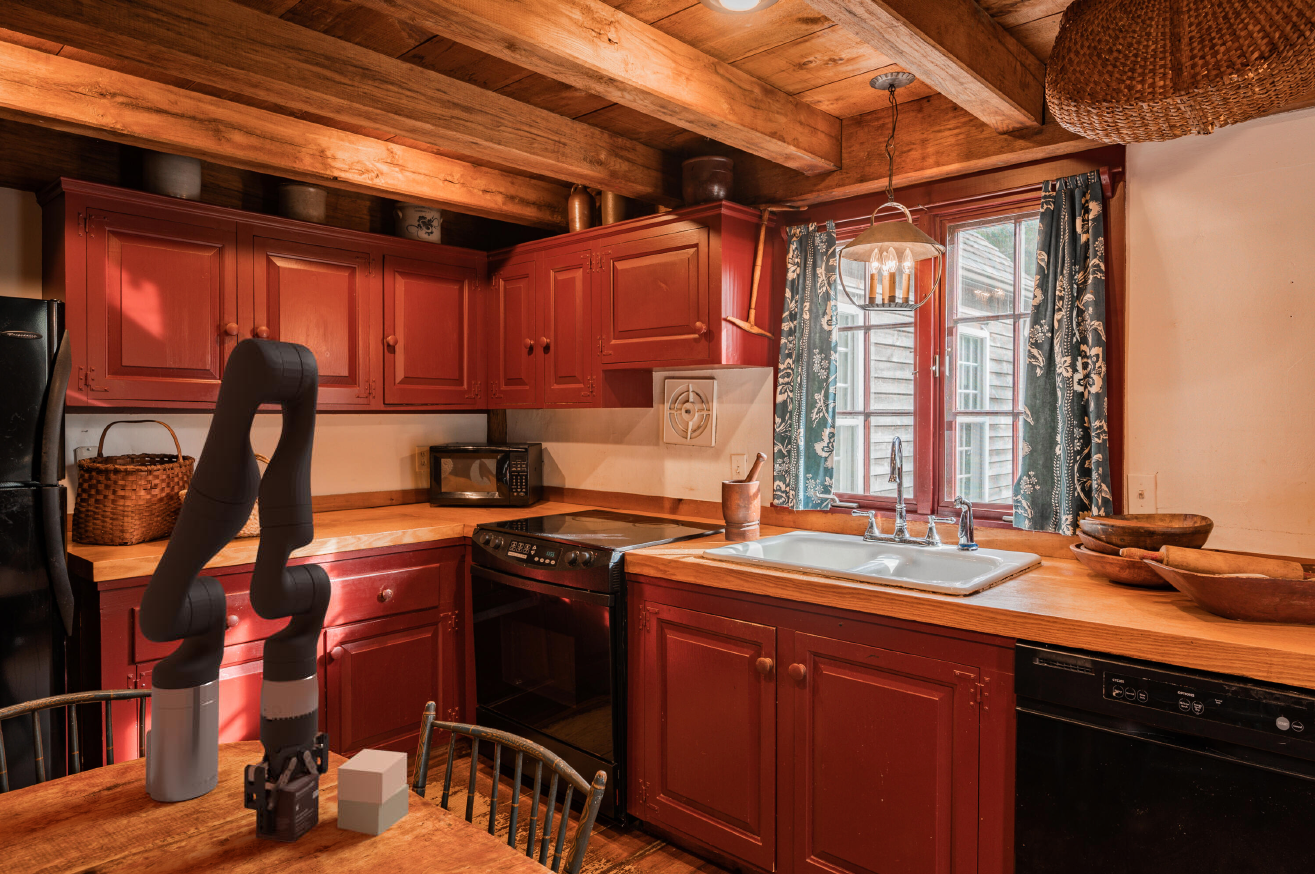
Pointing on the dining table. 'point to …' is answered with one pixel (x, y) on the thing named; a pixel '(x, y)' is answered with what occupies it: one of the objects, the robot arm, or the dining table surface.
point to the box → (295, 808)
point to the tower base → (373, 813)
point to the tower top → (372, 776)
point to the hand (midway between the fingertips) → (287, 820)
